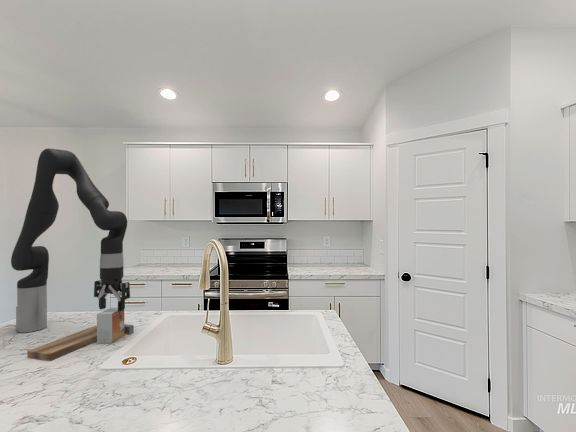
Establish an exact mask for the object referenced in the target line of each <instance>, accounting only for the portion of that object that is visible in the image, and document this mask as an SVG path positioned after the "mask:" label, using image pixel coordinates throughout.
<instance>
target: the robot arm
mask: <svg viewBox="0 0 576 432" xmlns="http://www.w3.org/2000/svg"><path fill="white" fill-rule="evenodd" d="M56 175H67V176H68V177H70V178H71V179H72V180H73V181H74V182H75V185H76V186H75V187H76V194H77V197H78V200H79V201H80V202H81V203H82V205H84V207H85V208H86V209H87V210H88V211H89V213H90V216H91V218H92V221H93V223H94V224H95V226H96V227H97V228H99V229H100V230H102V231H108V234H107V236H105V237H103V238H102V239H101V240H100V255H99V257H100V258H99V280H95V281H94V287H93V297H94V298H97V300H98V309H99V310H104V309H105V310H106V307H107V298H106V297H107V296H108V294H110V295H113V296H114V297H116V298H117V299H116V300H117V308H118V311H119V312H121V311H123V310H124V311H125V310H126V308H125V307H126V300H128V299H130V298H131V291H130V289H131V287H130V285H131V284H130V281H125V282H123V281H122V280H123V277H124V266H125V265H124V263H125V262H124V253H123V252H124V245H123V242H124V238H125V235H126V231H127V229H128V218H127V216H126V214H125V213H124V212H123V211H117V210H109V206H110V202H109V200H108V199H107V197H105V195H103V193H102V192H101V191H100V190H99V188H98V187H97V186H96V185H95V184H94V182H93V181H92V180H91V178H90V176H89V174H88V173H87V171H86V170H85V168H84V166H83V164H82V162H81V161H80V159H79V158H78V156H76V154H75V153H74V152H72V151H69V150H64V149H57V148H49V147H48V148H44V149H43V150H41V152H40V154H39V156H38V159H37V165H36V173H35V179H34V184H33V188H32V192H31V196H30V199H29V202H28V205H27V209H26V211H25V216H24V220H23V224H22V228H21V230H20V234H19V236H18V239H17V241H16V243H15V246H14V248H13V250H12V253H11V254H12V255H11V257H10V264H11V268H12V269H13V270H15V271H21V272H22V271H29V270H32V272H30V273H29V274H28V275H27V276H25V277H23V278H20V279H19V280H17V282H16V283H17V284H16V297H17V299H16V304H17V306H15V330H16V332H17V333H23V334H24V333H31V332H36V331H40V330H43V329H45V328H47V327H48V305H47V304H48V290H47V289H48V288H47V287H48V285H47V283H48V277H49V263H50V254H49V251H48V249H47V247H45V246H44V245H35V246H33V245H34V243H35V241H36V240H37V239H38V238H39V237H40V236H42V234H44V233H45V232H46V231H48V230H49V229H50V227H51V226H53V225H54V223H55V221H56V219H57V215H58V212H59V206H60V205H59V201H58V198H57V196H56V194H55V192H54V189H53V186H54V185H53V184H54V180H55V177H56Z"/></svg>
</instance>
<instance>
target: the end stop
mask: <svg viewBox="0 0 576 432" xmlns="http://www.w3.org/2000/svg"><path fill="white" fill-rule="evenodd" d="M134 328H135V327H134V325H133V324H127V323H124V335H126V336H130V335H132V334H134Z"/></svg>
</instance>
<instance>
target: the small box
mask: <svg viewBox="0 0 576 432" xmlns="http://www.w3.org/2000/svg"><path fill="white" fill-rule="evenodd" d="M124 324H125V309H124V310H123V311H121V312H119V311H118V307H109V308H108V309H105V310H103V311H101V312H98V313H97V314H96V326H97V341H96V343H97V344H113V343H115V342H117V340H119V339H120V338H122V337H124V336H125V334H124Z"/></svg>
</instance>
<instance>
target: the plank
mask: <svg viewBox="0 0 576 432" xmlns="http://www.w3.org/2000/svg"><path fill="white" fill-rule="evenodd" d="M95 342H96V343H97V325H93V326H90V327H88V328H85V329H82V330H80V331H78V332H73V333H72V334H69V335H66V336H65V337H60V338H58V339H55V340H53V341H50V342H47V343H44V344H42V345H40V346H37V347H35V348H32V349H30V350H27V353H26V354H27V356H26V357H27V358H29V359H35V360H42V361H46V362H47V361H48V362H52V361H54V360H56V359H59V358H61V357H63V356H66V355H68V354H70V353H72V352H75V351H77V350H79V349H82V348H85V347H86V346H88V345H91V344H93V343H94V344H95Z"/></svg>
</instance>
